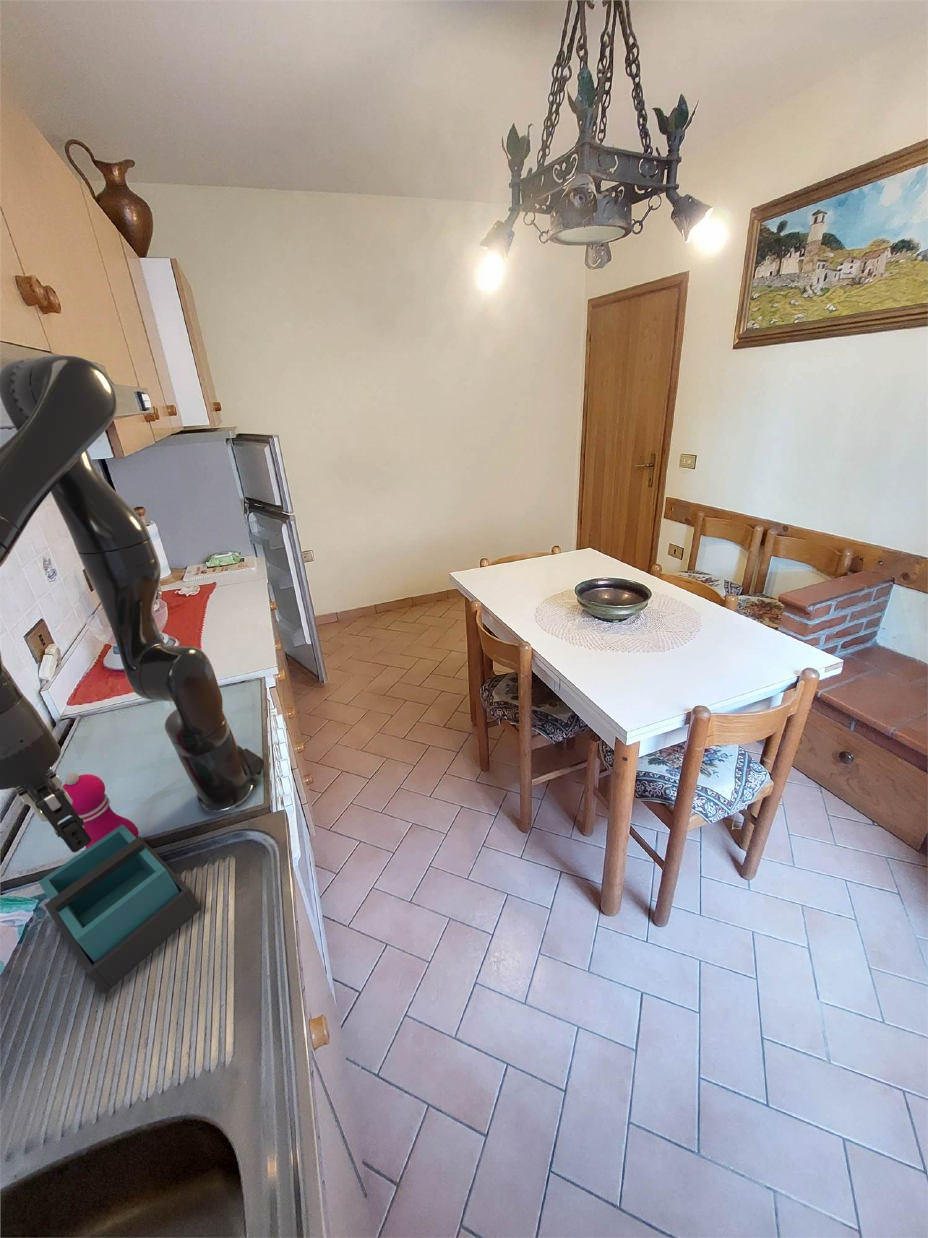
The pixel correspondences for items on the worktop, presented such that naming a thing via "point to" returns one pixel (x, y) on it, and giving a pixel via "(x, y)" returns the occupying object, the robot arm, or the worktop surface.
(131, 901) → the teal tote
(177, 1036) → the worktop surface
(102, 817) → the pepper mill
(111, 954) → the charcoal bin
